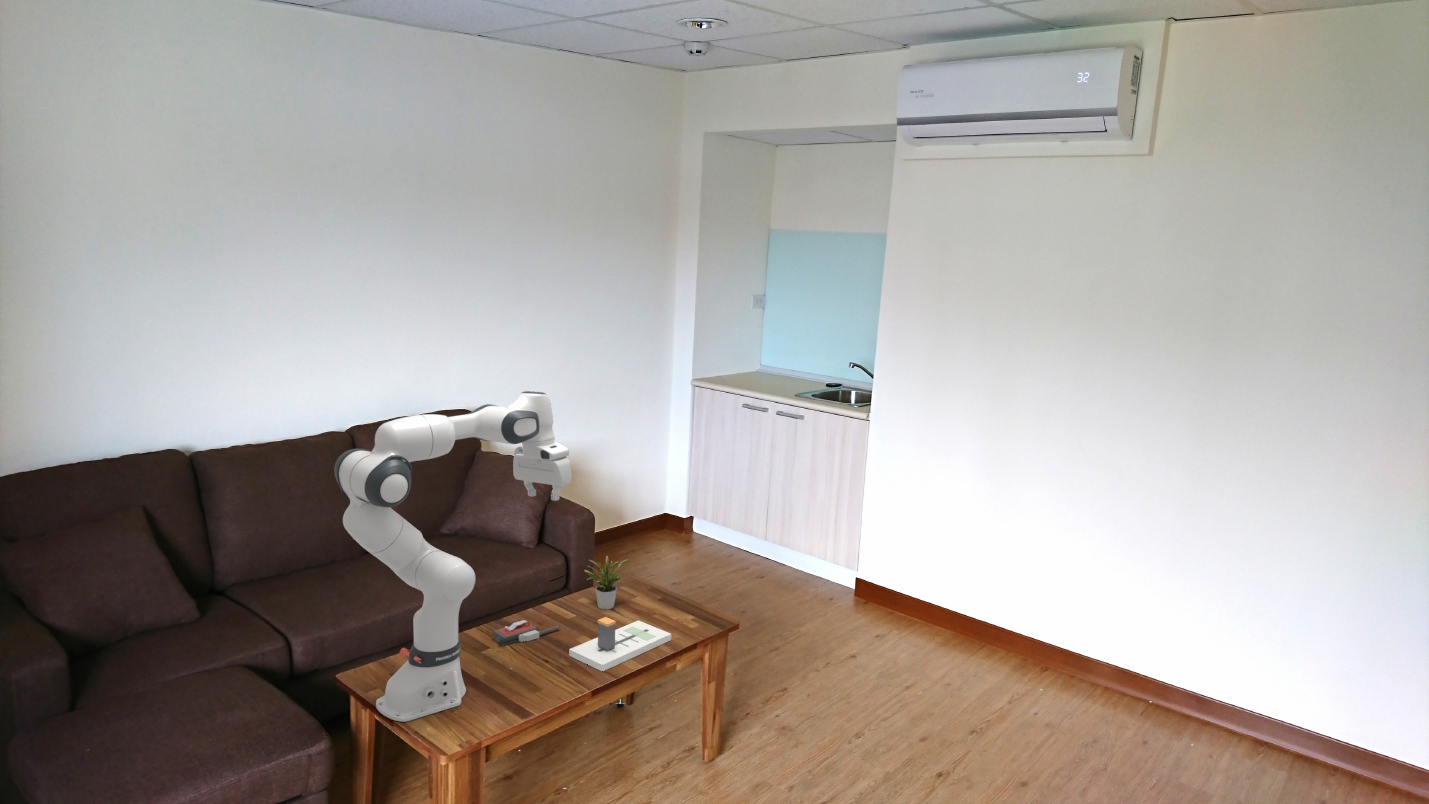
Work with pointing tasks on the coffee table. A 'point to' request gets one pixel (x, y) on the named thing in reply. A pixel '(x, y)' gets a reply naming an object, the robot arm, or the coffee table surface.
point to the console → (621, 646)
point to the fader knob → (606, 633)
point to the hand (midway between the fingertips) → (543, 498)
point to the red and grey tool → (518, 633)
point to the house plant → (605, 584)
